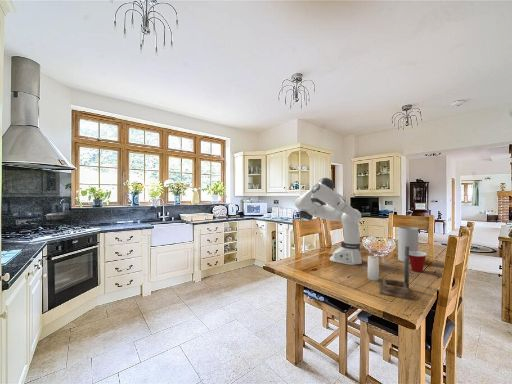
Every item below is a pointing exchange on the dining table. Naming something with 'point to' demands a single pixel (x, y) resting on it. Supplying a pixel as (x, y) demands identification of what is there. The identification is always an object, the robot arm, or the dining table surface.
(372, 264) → the paper roll
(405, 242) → the cylinder vase
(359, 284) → the dining table surface
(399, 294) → the roll holder
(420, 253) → the plastic cup
